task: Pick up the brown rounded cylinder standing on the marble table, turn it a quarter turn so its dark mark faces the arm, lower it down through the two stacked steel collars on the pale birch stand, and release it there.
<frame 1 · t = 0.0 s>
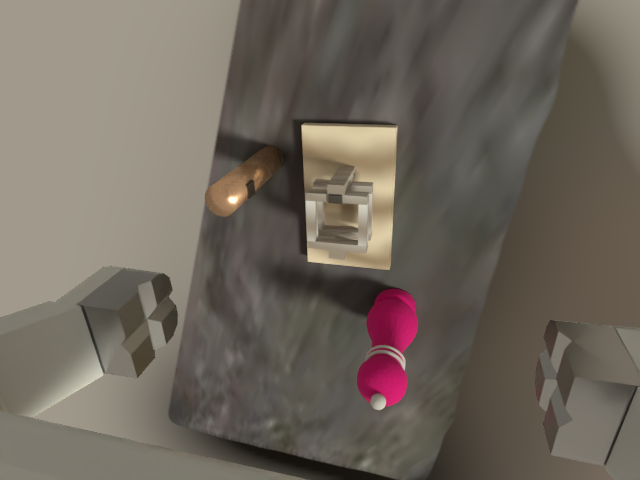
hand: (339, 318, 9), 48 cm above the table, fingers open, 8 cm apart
brown rounded cylinder: (271, 158, 61), on the table
collar stand: (349, 197, 60), on the table
pepper mill: (395, 304, 66), on the table
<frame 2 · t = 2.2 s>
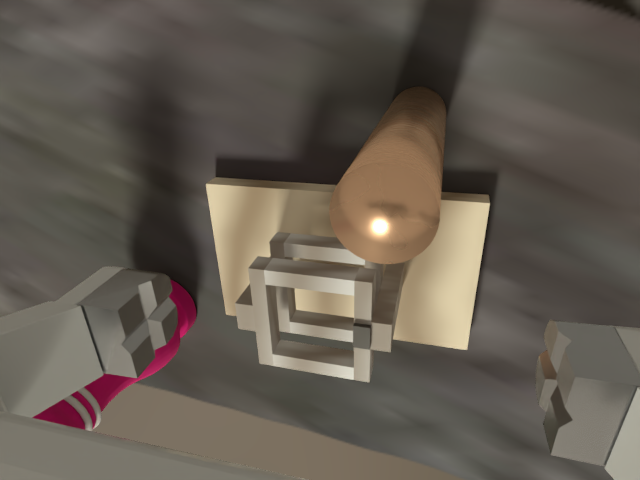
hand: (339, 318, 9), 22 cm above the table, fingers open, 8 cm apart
brown rounded cylinder: (416, 116, 28), on the table
collar stand: (341, 258, 34), on the table
pepper mill: (168, 302, 42), on the table
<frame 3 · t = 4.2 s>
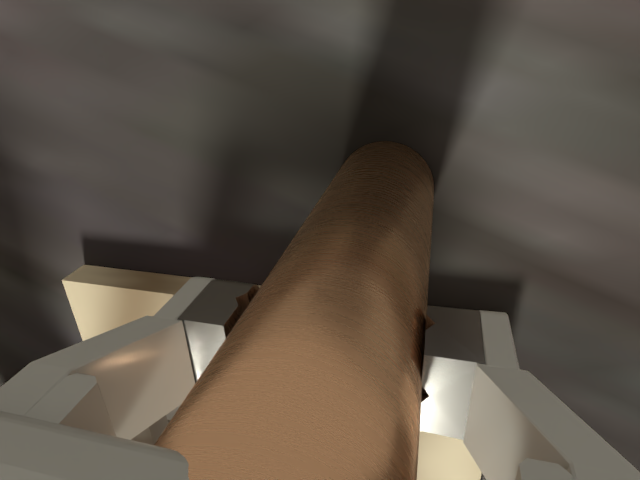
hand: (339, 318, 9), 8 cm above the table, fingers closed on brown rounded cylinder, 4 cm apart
brown rounded cylinder: (384, 188, 16), on the table, touching gripper
collar stand: (279, 384, 23), on the table
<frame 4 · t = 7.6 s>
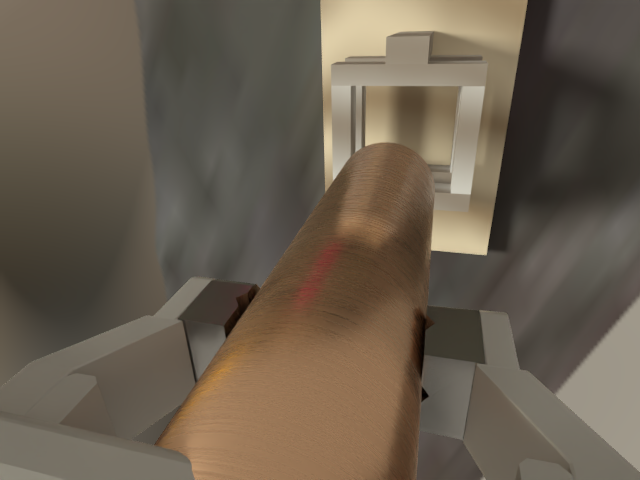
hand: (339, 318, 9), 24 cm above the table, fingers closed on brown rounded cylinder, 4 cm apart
brown rounded cylinder: (385, 189, 16), point 16 cm above the table, touching gripper
collar stand: (413, 109, 30), on the table
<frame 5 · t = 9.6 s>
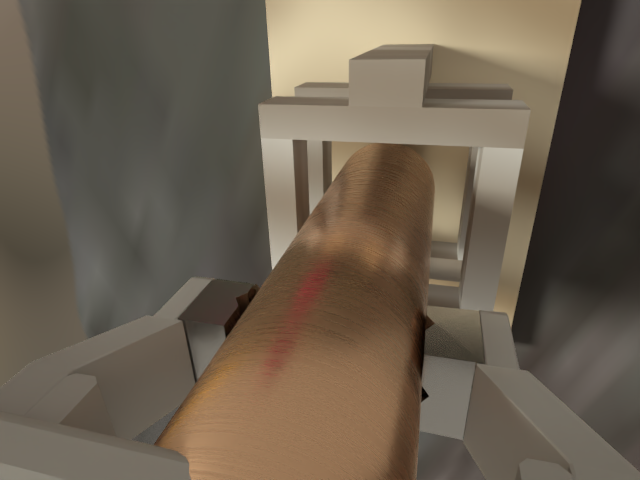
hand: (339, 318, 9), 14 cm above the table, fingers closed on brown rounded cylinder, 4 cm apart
brown rounded cylinder: (385, 189, 16), point 6 cm above the table, touching gripper
collar stand: (404, 153, 21), on the table
when the fingers open (11 cm above the table, at t = 11.1 s): brown rounded cylinder drops 1 cm, resting on collar stand.
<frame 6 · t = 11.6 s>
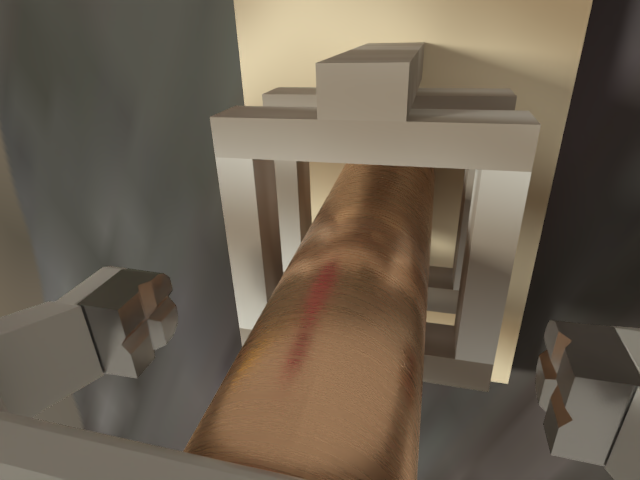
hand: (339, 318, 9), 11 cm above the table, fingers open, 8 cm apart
brown rounded cylinder: (388, 178, 18), point 2 cm above the table, touching collar stand
collar stand: (393, 164, 19), on the table
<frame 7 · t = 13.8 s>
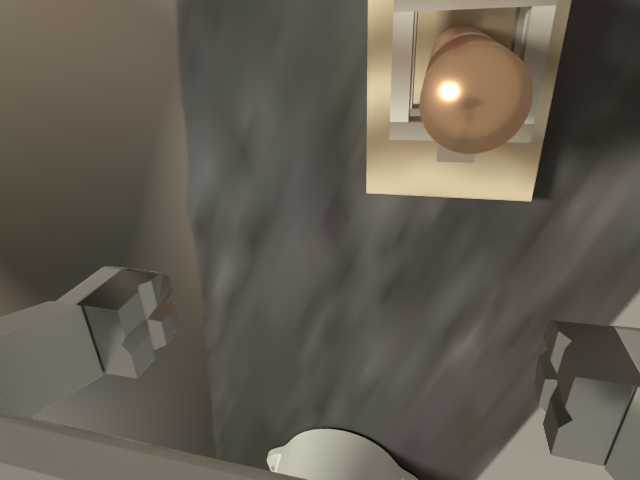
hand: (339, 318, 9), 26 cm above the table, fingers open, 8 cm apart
brown rounded cylinder: (459, 55, 28), point 2 cm above the table, touching collar stand
collar stand: (458, 51, 30), on the table
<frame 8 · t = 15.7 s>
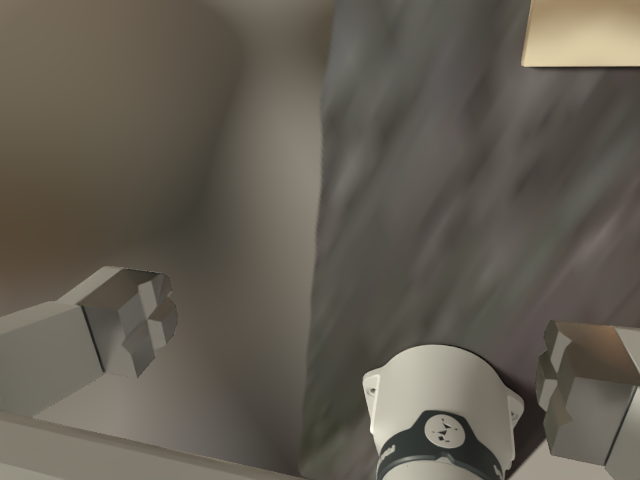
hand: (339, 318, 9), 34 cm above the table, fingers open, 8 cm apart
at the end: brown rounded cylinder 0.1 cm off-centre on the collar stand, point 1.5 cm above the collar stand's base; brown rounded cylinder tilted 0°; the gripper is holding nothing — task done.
